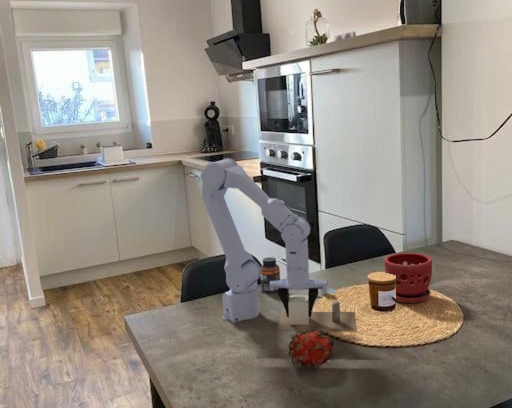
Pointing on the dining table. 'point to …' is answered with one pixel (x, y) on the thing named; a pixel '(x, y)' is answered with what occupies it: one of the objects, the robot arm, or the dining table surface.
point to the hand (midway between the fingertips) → (299, 315)
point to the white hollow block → (298, 310)
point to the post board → (322, 321)
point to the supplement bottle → (269, 274)
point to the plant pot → (410, 276)
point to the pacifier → (326, 290)
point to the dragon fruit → (310, 348)
